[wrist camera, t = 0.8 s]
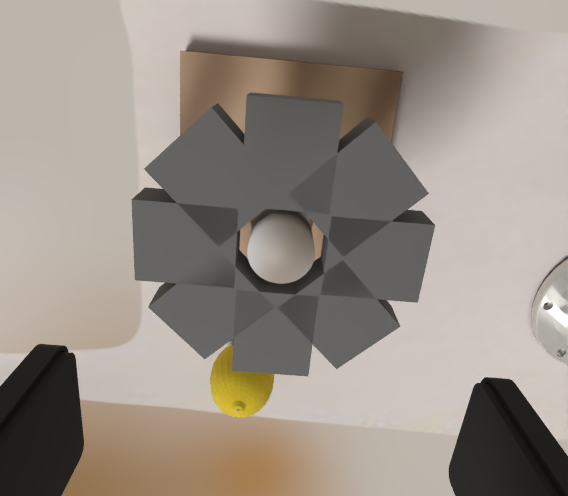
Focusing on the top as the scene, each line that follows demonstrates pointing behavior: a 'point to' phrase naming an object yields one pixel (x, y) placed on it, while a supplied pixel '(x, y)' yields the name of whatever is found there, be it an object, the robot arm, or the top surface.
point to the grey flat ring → (282, 196)
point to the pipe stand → (232, 98)
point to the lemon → (238, 387)
